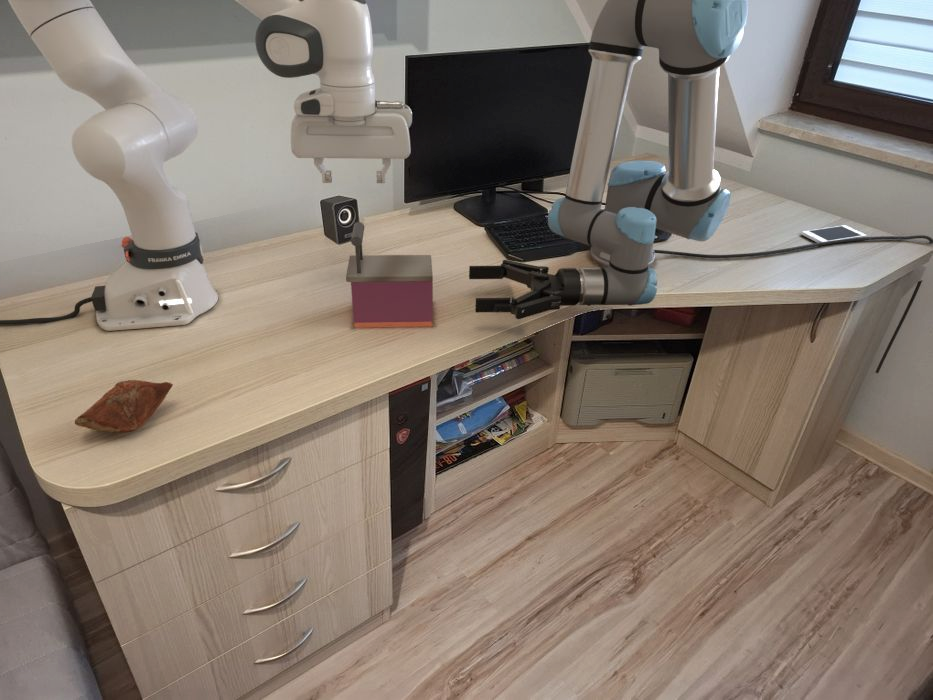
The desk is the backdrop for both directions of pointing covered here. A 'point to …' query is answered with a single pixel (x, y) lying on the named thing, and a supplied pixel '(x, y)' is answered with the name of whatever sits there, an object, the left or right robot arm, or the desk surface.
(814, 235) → the smartphone
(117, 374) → the desk surface
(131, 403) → the fossil
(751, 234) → the desk surface
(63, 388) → the desk surface
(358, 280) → the lid
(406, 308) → the chest
